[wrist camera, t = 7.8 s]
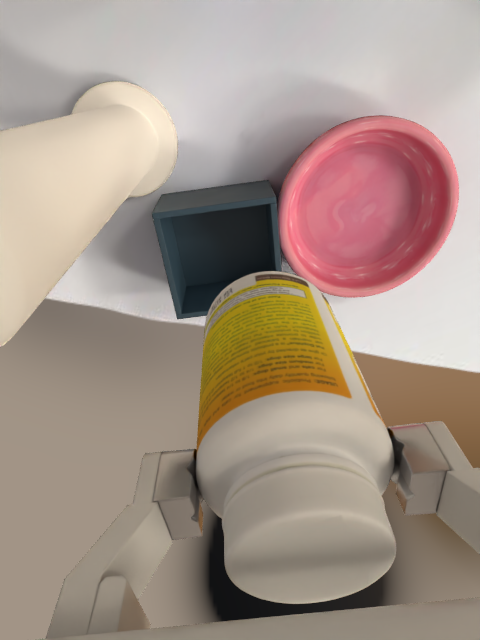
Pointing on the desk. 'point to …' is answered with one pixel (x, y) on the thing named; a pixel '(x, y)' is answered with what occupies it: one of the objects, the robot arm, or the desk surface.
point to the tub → (215, 240)
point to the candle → (73, 186)
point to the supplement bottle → (291, 445)
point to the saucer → (367, 206)
